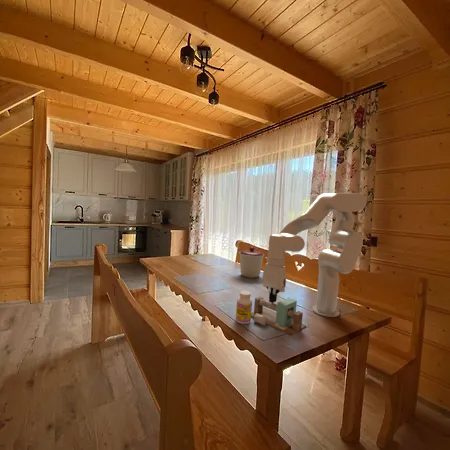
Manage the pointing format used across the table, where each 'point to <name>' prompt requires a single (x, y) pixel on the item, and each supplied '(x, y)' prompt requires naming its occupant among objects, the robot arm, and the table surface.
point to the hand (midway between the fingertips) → (272, 301)
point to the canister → (251, 262)
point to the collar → (285, 311)
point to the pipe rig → (271, 316)
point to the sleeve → (260, 319)
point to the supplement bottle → (244, 308)
